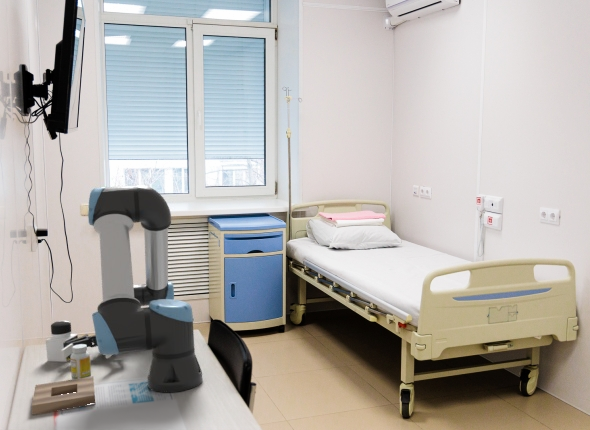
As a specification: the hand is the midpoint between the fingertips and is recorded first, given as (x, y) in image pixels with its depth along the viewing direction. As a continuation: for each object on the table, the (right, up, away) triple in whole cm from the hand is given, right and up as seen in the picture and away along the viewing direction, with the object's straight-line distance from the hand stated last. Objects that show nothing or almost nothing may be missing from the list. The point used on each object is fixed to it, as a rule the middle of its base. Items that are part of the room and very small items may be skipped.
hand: (84, 354), depth 177 cm
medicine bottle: (-12, -5, +16) cm, 21 cm away
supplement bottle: (0, -6, -3) cm, 7 cm away
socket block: (+1, -7, -19) cm, 20 cm away
